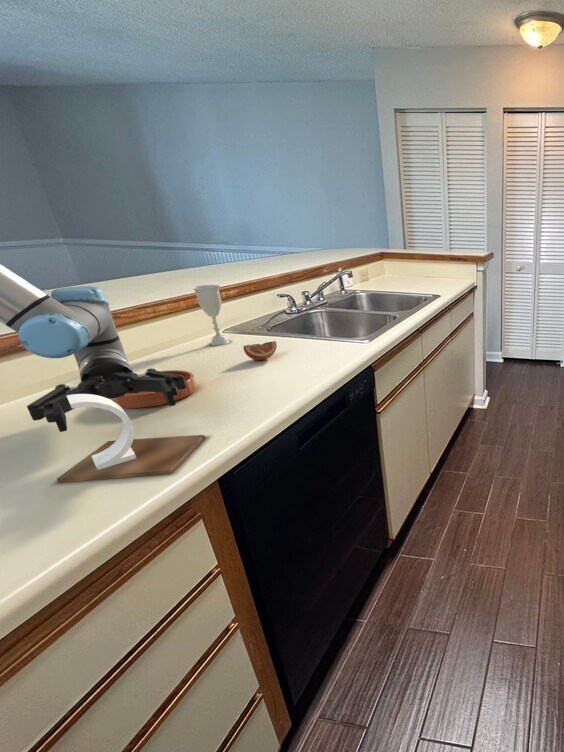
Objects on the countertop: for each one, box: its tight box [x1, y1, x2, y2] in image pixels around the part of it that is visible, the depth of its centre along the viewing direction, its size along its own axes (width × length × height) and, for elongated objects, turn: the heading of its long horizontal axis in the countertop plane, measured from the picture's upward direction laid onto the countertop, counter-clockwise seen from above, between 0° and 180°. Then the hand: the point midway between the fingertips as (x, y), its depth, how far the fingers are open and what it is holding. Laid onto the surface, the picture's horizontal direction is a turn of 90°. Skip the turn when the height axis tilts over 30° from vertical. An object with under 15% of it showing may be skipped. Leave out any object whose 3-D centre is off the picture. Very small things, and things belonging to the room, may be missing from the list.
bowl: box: [111, 369, 198, 409], centre depth 97 cm, size 15×15×4 cm
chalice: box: [192, 284, 230, 346], centre depth 133 cm, size 7×7×18 cm
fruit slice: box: [243, 340, 278, 361], centre depth 121 cm, size 8×7×5 cm
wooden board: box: [56, 434, 206, 484], centre depth 74 cm, size 16×12×1 cm
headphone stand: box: [67, 394, 136, 470], centre depth 70 cm, size 5×6×12 cm
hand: (119, 410), depth 69 cm, fingers open, 13 cm apart
